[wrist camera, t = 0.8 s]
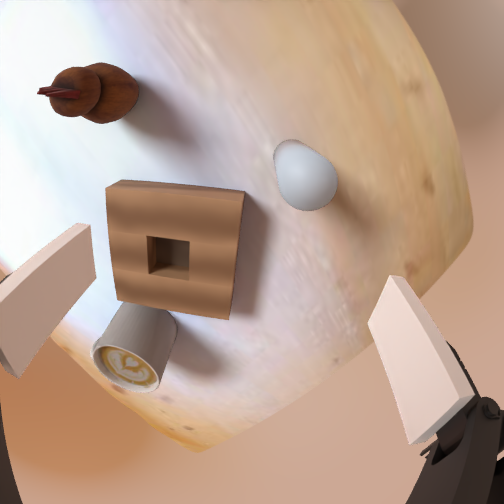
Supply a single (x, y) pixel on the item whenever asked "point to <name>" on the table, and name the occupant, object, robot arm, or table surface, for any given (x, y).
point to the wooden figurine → (93, 92)
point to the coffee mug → (135, 347)
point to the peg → (304, 176)
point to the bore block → (174, 245)
